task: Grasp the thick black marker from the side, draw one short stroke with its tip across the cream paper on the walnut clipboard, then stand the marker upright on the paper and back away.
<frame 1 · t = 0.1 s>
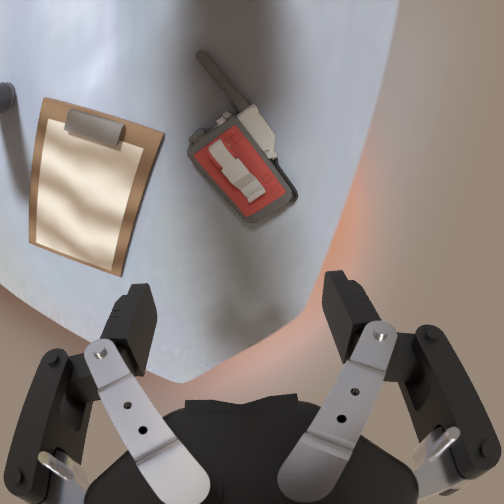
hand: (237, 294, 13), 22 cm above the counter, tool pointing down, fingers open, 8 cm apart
marker: (5, 95, 23), on the counter
walkie-talkie: (231, 138, 31), on the counter
clipboard: (81, 194, 33), on the counter
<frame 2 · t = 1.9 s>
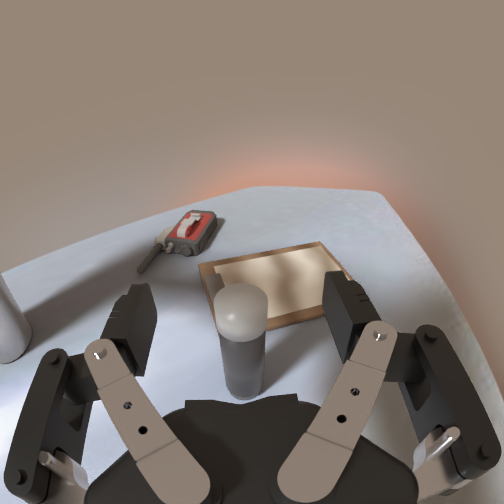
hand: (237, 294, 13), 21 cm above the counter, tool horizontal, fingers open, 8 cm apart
marker: (244, 386, 31), on the counter
walkie-talkie: (181, 248, 54), on the counter
clipboard: (280, 284, 45), on the counter
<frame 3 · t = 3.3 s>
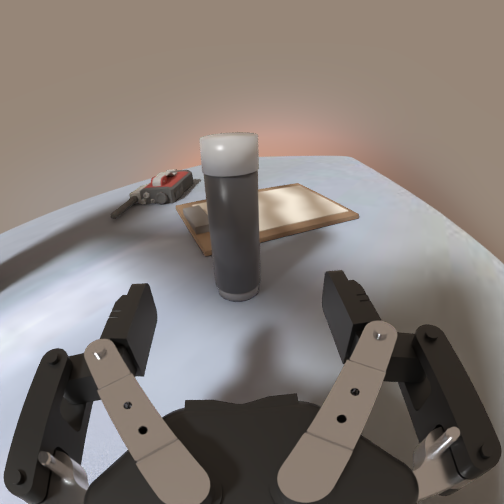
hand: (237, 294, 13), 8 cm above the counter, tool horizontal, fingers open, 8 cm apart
marker: (238, 289, 27), on the counter
walkie-talkie: (157, 201, 51), on the counter
clipboard: (263, 212, 42), on the counter
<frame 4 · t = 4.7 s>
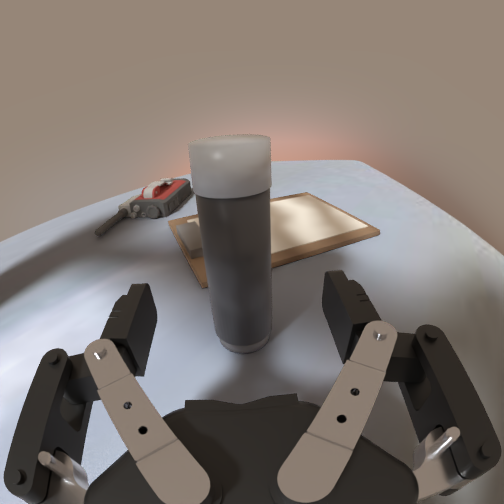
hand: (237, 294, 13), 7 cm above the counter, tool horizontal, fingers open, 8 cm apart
marker: (244, 335, 21), on the counter
walkie-talkie: (150, 215, 45), on the counter
clipboard: (269, 228, 37), on the counter
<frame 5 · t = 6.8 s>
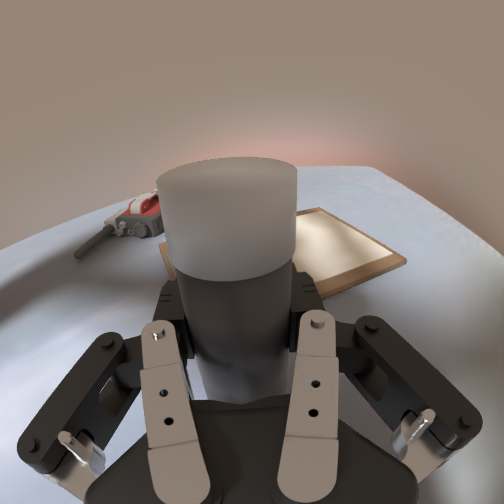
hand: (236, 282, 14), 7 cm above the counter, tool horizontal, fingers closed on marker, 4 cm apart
marker: (248, 413, 15), on the counter, touching gripper
walkie-talkie: (139, 231, 39), on the counter
clipboard: (278, 255, 31), on the counter
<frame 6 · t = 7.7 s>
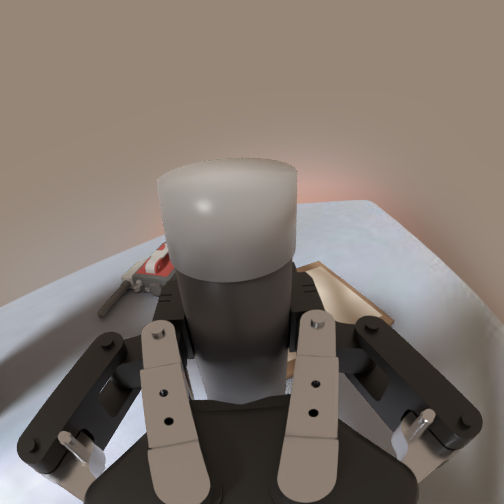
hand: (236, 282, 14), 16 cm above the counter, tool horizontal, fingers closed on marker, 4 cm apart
marker: (248, 414, 15), point 8 cm above the counter, touching gripper
walkie-talkie: (154, 286, 44), on the counter
clipboard: (281, 319, 35), on the counter
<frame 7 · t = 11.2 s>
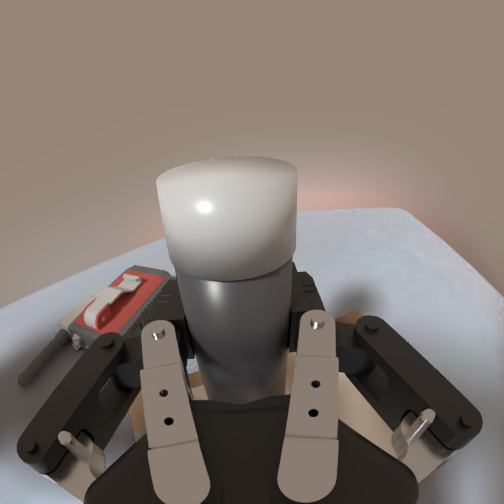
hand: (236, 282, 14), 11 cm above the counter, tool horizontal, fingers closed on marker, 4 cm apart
marker: (248, 413, 15), point 4 cm above the counter, touching gripper
walkie-talkie: (105, 339, 26), on the counter
clipboard: (301, 431, 18), on the counter
when the fingers open (9 cm above the counter, at t = 14.9 s): marker drops 1 cm, resting on clipboard.
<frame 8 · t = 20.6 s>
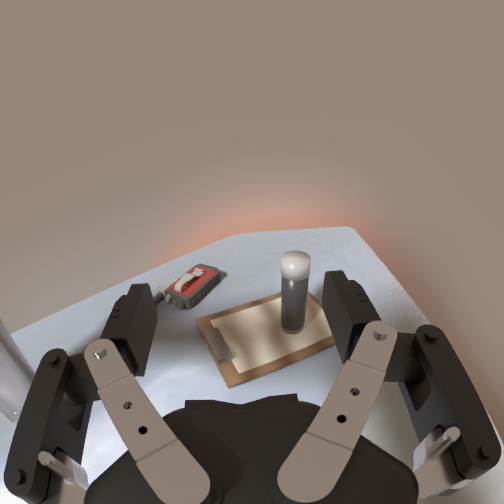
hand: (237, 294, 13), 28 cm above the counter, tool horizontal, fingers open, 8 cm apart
marker: (292, 326, 49), point 1 cm above the counter, touching clipboard
walkie-talkie: (181, 299, 59), on the counter
clipboard: (271, 330, 49), on the counter
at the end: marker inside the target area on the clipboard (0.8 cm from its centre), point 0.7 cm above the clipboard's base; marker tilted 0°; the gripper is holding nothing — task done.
